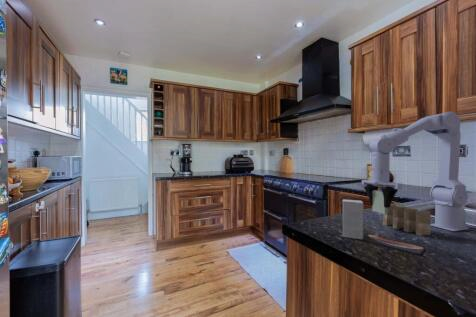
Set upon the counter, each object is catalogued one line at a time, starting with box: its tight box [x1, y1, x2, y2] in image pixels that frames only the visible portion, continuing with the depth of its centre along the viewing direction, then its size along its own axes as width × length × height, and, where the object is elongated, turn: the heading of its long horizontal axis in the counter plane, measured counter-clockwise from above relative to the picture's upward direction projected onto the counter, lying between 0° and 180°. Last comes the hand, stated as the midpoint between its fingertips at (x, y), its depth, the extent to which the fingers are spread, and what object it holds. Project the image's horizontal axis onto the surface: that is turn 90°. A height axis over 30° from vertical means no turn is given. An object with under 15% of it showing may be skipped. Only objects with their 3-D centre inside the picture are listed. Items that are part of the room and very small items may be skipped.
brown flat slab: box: [361, 234, 426, 256], centre depth 68 cm, size 8×1×15 cm
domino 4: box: [403, 207, 419, 233], centre depth 81 cm, size 2×5×8 cm, turn 110°
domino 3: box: [392, 205, 407, 230], centre depth 85 cm, size 2×5×8 cm, turn 110°
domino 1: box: [371, 190, 388, 215], centre depth 84 cm, size 2×5×8 cm, turn 20°
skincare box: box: [342, 199, 364, 240], centre depth 74 cm, size 6×4×12 cm
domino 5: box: [415, 210, 431, 237], centre depth 77 cm, size 2×5×8 cm, turn 110°
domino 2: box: [382, 203, 397, 227], centre depth 89 cm, size 2×5×8 cm, turn 110°
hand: (379, 205), depth 84 cm, fingers closed on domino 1, 5 cm apart
